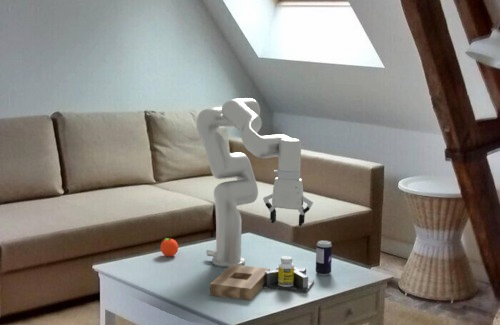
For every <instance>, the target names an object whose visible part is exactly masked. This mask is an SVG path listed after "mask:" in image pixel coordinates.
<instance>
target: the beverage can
mask: <svg viewBox="0 0 500 325" xmlns="http://www.w3.org/2000/svg"><path fill="white" fill-rule="evenodd" d="M332 254H333V245H332V241H330V240H325V239H324V240H318V241H317V243H316V252H315V272H316V274H318V275H319V276H330V274H331V273H332V260H333V259H332V258H333V257H332Z"/></svg>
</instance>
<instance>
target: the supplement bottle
mask: <svg viewBox="0 0 500 325" xmlns="http://www.w3.org/2000/svg"><path fill="white" fill-rule="evenodd" d="M278 266H279V269H278V284H279V285H280V286H283V287H290V286H292V285H293V284H294V267H295V264H294V263H293V257H292V256H289V255H283V256H281V257H280V263H279V264H278Z"/></svg>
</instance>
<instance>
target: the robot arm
mask: <svg viewBox="0 0 500 325" xmlns="http://www.w3.org/2000/svg"><path fill="white" fill-rule="evenodd" d="M260 114H261V107H260V104H259V102H258V101H257V100H256V99H254V98H250V97H249V98H248V97H244V98H231V99H229V100H227V101H225V102H224V103H223V105H222V106H216V107H209V108H205V109H202V110H201V111H200V112H199V113H198V115H197V117H196V128H197V129H196V130H197V133H198V136H199V138H200V140H201V142H202V143H203V146H204V149H205V152H206V156H207V160H208V161H207V162H208V164H209V168H210V171H211V175H212V176H213V178H215V179H216V180H226V179H234V178H236V180H229V181H227V180H226V181H224V182H223V181H222V182H221V183H218V184H217V185H216V186H215V187H214V189H213V199H214V204H215V216H216V217H215V219H216V222H215V224H216V228H215V229H216V230H215V231H216V232H215V236H216V238H215V239H216V242H215V244H216V246H215V249H214V250H213V249H206V251H205V253H206V255H207V257H213V258H211V263H212V264H213V265H214V266H216V267H220V268H228V267H229V266H230V265H232V264H233V265H242V266H244V264H246V259H245V258H244V257H242V216H241V212H239V210H238V208H237V207H239V206H242V205H243V206H244V205H248V204H253V203H254V202H255V201H257V199H258V196H259V189H258V184H257V181H256V177H255V174H254V170H253V167H252V164H251V161H250V159H249V157H248V156H247V155H246V154H245V153H243V152H240V151H239V152H238V151H237V152H231V151H230V150H229V148H228V147H229V146H228V144H227V143H228V142H227V140H226V138H224V136H223V135H222V134H221V133H220V132H219V131H218V130H229V129H230V130H231V129H237V130H238V132H240V133H241V141H242V144H243V145H244V148H245V149H246V150H247V151H248V152H250V154H252V155H253V156H255V157H257V158H259V159H268V158H278V161H277V163H278V164H277V169H275V170H274V171H273V175H276V177H275V179H274V181H273V182H274V183H273V189H272V193H271V194H269V195H267V196H264V197H263V198H262V200H263V202H264V204H265V207H266V208H267V209H268V211H269V212H270V213H269V214H270V216H269V217H270V221H271V224H275V222H276V221H277V208H278V209H285V210H293V211H294V210H297V211H298V212H299V214H298V227H302V226H303V224H305V217H306V216H305V215H306V214H307V212H308V211H310V210H311V208H312V206H313V205H314V202H313V201H312V200H310V199H309V198H307V197H306V196H304V186H303V179H302V178H301V163H302V162H301V159H302V157H301V156H302V142H301V140H300V139H298V138H293V137H290V136H288V135H286V134H271V135H259V134H258V133H259V131H260V129H261V128H262V124H263V122H262V119H261V118H262V117H261V116H260ZM269 200H271V202H270V201H269ZM304 203H305V204H307V205H306V207H305V208H304Z"/></svg>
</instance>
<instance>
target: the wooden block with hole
mask: <svg viewBox="0 0 500 325" xmlns="http://www.w3.org/2000/svg"><path fill="white" fill-rule="evenodd" d="M265 271H271V268H268V267H267V268H266V267H258V266H249V265H233V264H232V265H230V266H229V267H226V269H225V270H224V271H222V272H221V274H219V275H218V276H217V277H216V278H215V279H214V280H212V282H211V283H209V296H216V297H223V298H231V299H238V300H246V301H252V300H253V298H255V297H256V295H257V294H258V293H259V292H260V291H261V289H262V285H263V284H264V282H265Z"/></svg>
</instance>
